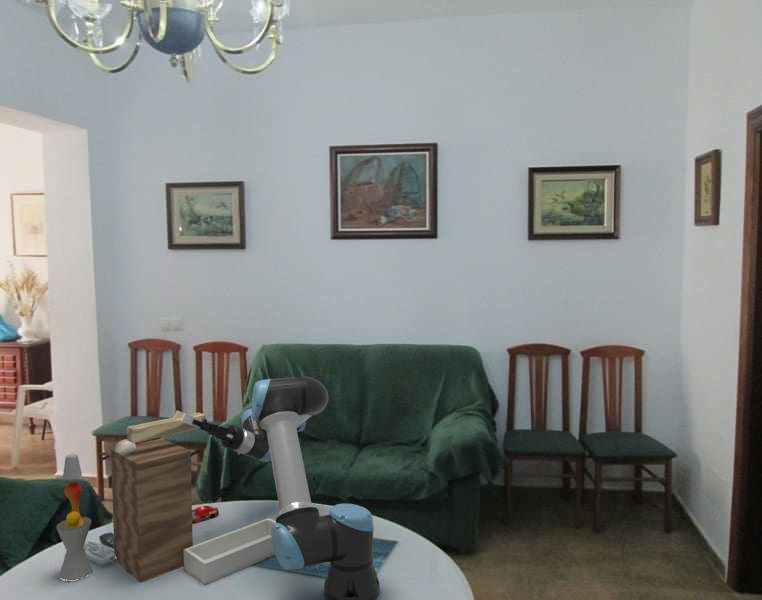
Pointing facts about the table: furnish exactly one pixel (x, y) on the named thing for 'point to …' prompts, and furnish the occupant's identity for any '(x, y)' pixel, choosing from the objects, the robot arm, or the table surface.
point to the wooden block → (151, 506)
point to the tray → (230, 552)
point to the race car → (204, 513)
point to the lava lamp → (74, 526)
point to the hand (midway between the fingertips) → (179, 416)
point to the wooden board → (160, 428)
